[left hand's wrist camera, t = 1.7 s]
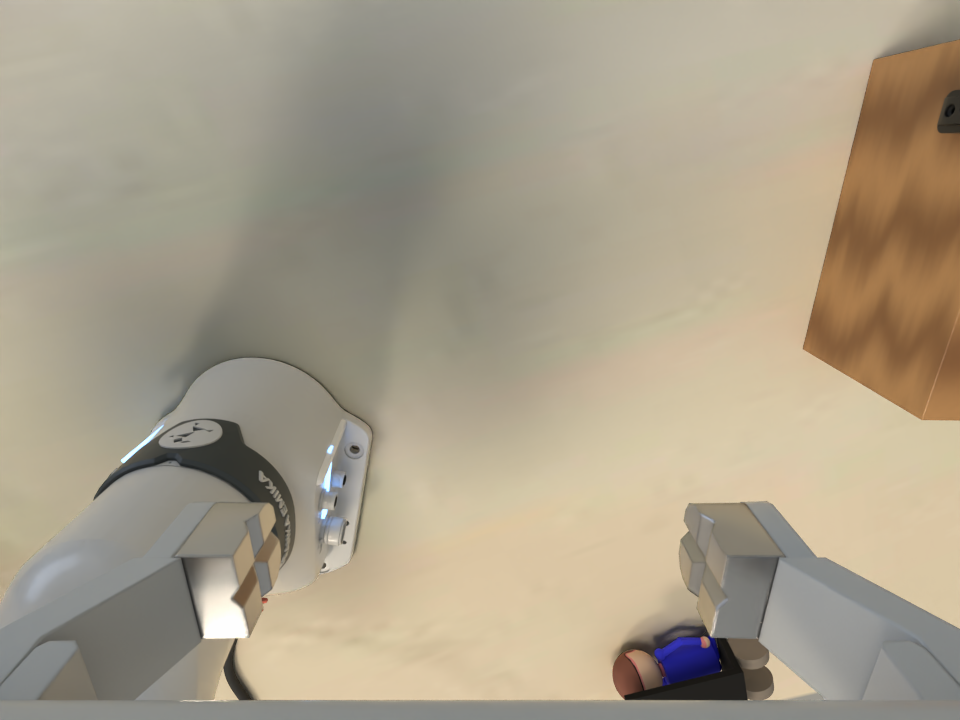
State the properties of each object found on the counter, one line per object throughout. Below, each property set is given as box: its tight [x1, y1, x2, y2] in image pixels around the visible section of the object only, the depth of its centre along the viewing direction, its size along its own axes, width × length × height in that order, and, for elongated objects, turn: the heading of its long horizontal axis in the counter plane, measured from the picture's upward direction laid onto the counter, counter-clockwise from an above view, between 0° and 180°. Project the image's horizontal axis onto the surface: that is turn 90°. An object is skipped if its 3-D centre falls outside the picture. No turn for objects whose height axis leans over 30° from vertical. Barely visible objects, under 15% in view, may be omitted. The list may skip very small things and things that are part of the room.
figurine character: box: [613, 632, 774, 700], centre depth 54 cm, size 7×8×15 cm
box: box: [803, 39, 960, 420], centre depth 35 cm, size 21×6×13 cm, turn 179°
